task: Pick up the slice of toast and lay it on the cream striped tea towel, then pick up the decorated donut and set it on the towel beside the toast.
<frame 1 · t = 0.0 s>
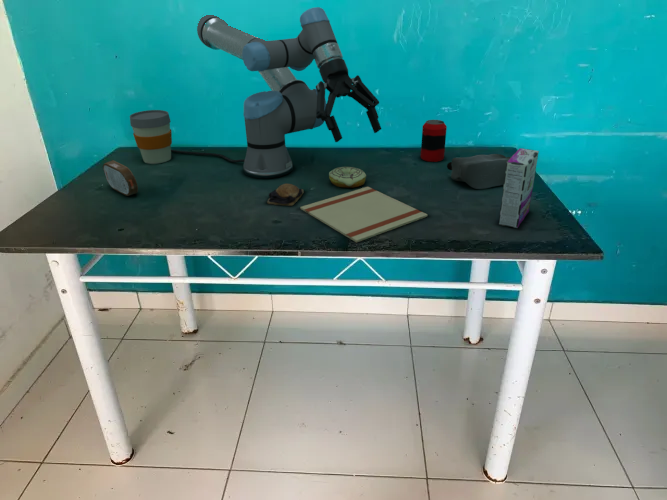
hand: (358, 135, 143), 15 cm above the table, tool tilted 35°, fingers open, 13 cm apart
tin: (123, 192, 151), on the table
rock: (478, 181, 153), on the table
soda can: (432, 158, 172), on the table
bread roll: (285, 198, 145), on the table
towel: (362, 212, 136), on the table
decorated donut: (347, 183, 154), on the table
reusable coffee cup: (157, 159, 176), on the table
candy bar box: (513, 219, 131), on the table
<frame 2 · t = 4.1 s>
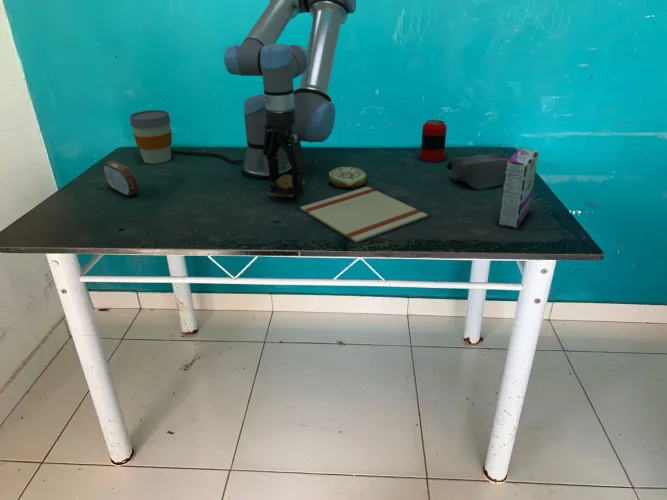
hand: (286, 188, 144), 3 cm above the table, tool pointing down, fingers closed on bread roll, 12 cm apart
bread roll: (286, 189, 145), point 2 cm above the table, touching gripper
everything else where it was.
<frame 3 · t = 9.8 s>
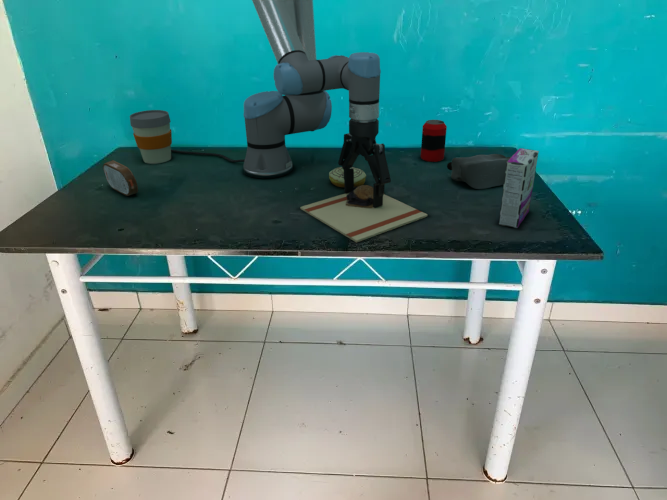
hand: (363, 199, 141), 1 cm above the table, tool pointing down, fingers closed on bread roll, 12 cm apart
bread roll: (363, 200, 142), resting on towel, touching gripper
everything else where it was.
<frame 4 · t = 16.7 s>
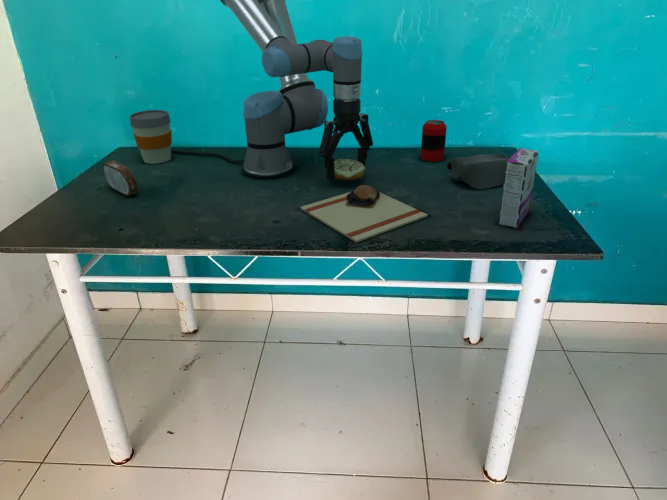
hand: (346, 174, 153), 2 cm above the table, tool pointing down, fingers closed on decorated donut, 11 cm apart
bread roll: (363, 200, 142), resting on towel
decorated donut: (346, 175, 153), point 2 cm above the table, touching gripper
everything else where it was.
when the fingers open (1 cm above the table, at t = 23.0 s): decorated donut stays where it is, resting on towel.
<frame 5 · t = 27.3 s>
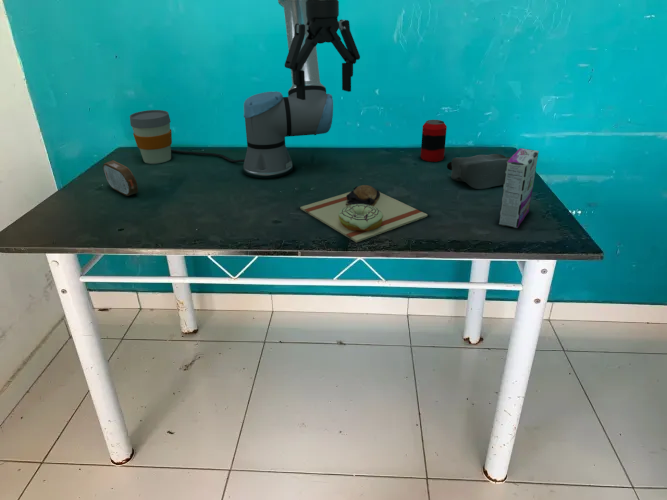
hand: (324, 94, 128), 29 cm above the table, tool pointing down, fingers open, 13 cm apart
decorated donut: (360, 224, 128), resting on towel
everything else where it was.
at the end: bread roll inside the target area on the towel (7.2 cm from its centre), point 0.4 cm above the towel's base; decorated donut inside the target area on the towel (8.0 cm from its centre), point 0.4 cm above the towel's base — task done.
